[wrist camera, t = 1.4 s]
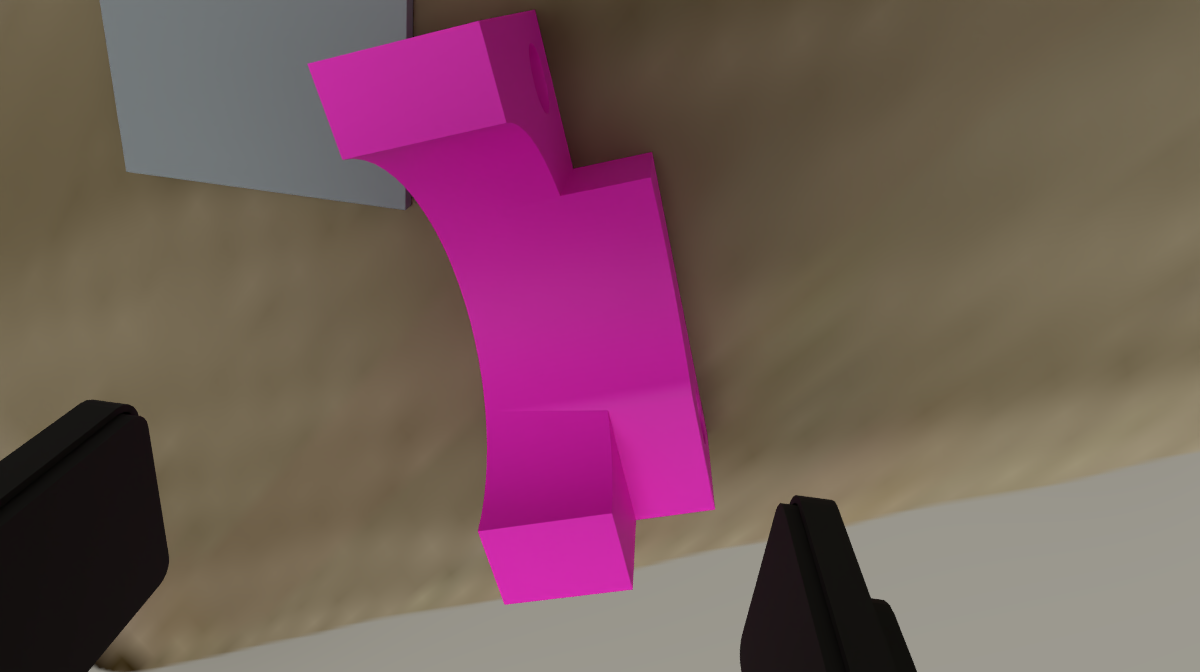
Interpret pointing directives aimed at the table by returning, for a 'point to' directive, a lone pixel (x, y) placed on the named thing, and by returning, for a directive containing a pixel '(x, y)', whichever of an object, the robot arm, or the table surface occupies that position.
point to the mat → (244, 91)
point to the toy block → (541, 298)
